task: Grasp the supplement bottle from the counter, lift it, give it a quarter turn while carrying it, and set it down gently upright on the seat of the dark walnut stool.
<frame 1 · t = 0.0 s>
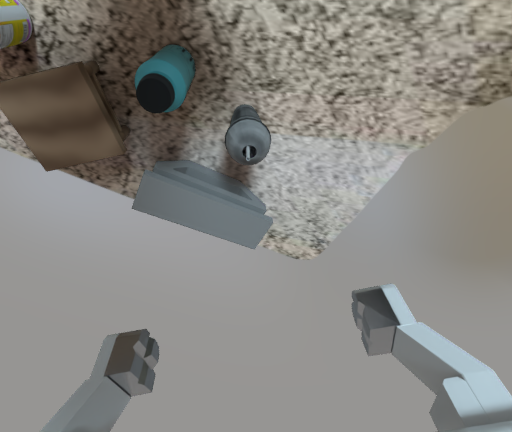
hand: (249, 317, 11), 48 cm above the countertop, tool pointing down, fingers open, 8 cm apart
supplement bottle: (10, 17, 43), on the countertop
walnut stool: (80, 107, 51), on the countertop
beverage cup: (244, 116, 55), on the countertop
beverage bottle: (178, 63, 49), on the countertop
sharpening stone: (208, 185, 63), on the countertop
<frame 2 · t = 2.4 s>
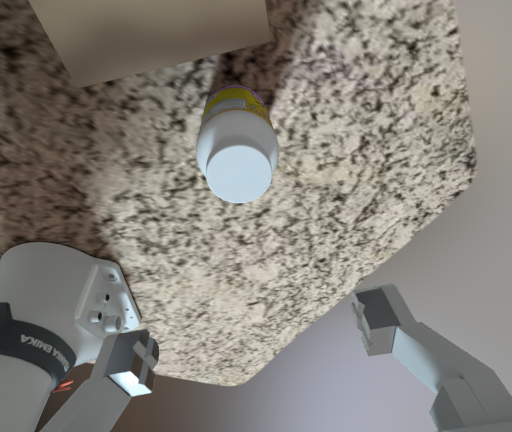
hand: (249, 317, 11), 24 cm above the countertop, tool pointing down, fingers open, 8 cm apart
supplement bottle: (235, 116, 31), on the countertop
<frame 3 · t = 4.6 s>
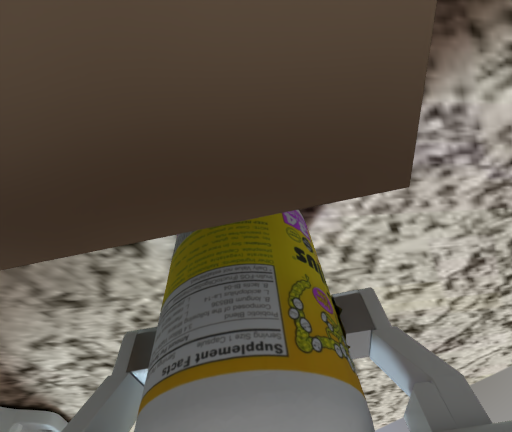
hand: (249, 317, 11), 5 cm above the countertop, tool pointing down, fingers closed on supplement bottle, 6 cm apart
supplement bottle: (243, 230, 16), on the countertop, touching gripper
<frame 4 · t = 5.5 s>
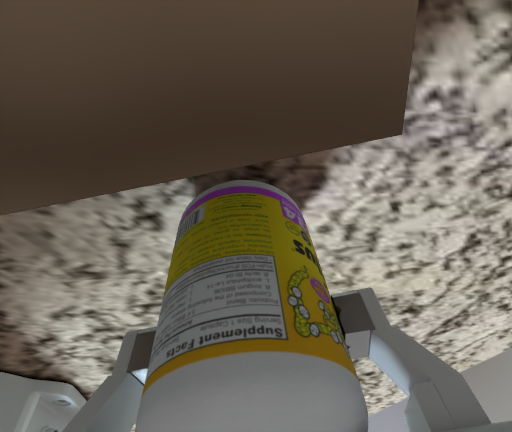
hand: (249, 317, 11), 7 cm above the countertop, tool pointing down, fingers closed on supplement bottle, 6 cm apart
supplement bottle: (242, 224, 16), point 1 cm above the countertop, touching gripper
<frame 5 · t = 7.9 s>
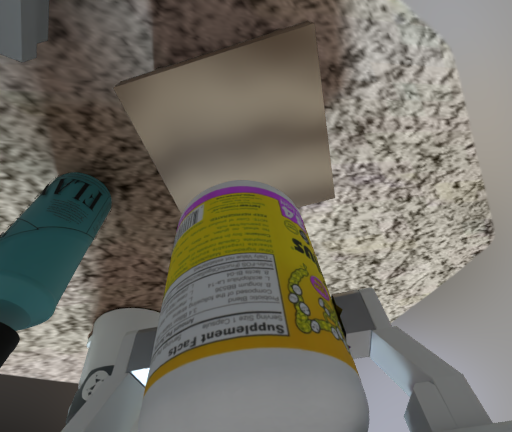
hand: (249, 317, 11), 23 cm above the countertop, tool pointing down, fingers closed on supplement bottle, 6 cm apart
supplement bottle: (240, 224, 16), point 17 cm above the countertop, touching gripper
walnut stool: (238, 117, 30), on the countertop
beverage bottle: (88, 188, 34), on the countertop
when the fingers open (15 cm above the countertop, at t = 10.5 s): supplement bottle stays where it is, resting on walnut stool.
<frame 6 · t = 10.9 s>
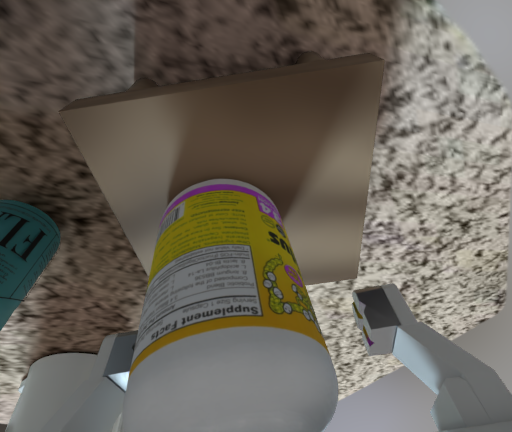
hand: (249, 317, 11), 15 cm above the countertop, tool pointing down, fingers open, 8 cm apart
supplement bottle: (221, 222, 17), point 8 cm above the countertop, touching gripper, walnut stool
walnut stool: (240, 154, 23), on the countertop
beverage bottle: (31, 217, 25), on the countertop
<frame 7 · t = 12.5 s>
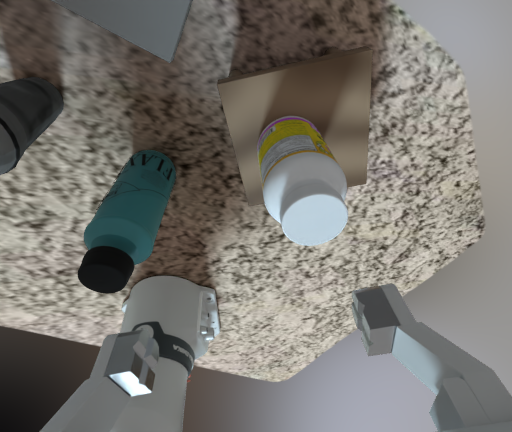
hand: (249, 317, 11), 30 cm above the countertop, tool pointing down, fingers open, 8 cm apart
supplement bottle: (288, 144, 30), point 8 cm above the countertop, touching walnut stool
walnut stool: (289, 114, 36), on the countertop
beverage cup: (43, 97, 34), on the countertop
beverage bottle: (155, 164, 40), on the countertop
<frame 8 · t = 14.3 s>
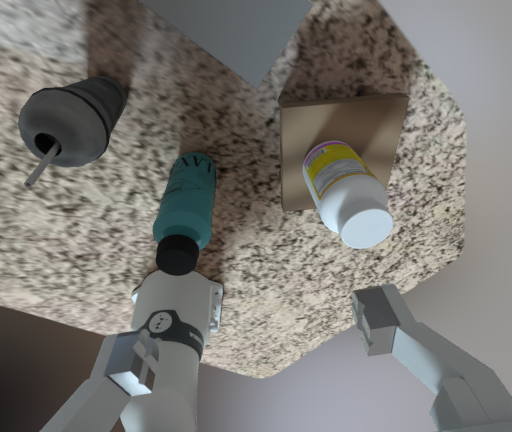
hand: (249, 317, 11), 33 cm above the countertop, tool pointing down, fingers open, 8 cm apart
supplement bottle: (327, 162, 36), point 8 cm above the countertop, touching walnut stool
walnut stool: (322, 136, 42), on the countertop
beverage cup: (108, 94, 37), on the countertop
beverage bottle: (195, 165, 44), on the countertop
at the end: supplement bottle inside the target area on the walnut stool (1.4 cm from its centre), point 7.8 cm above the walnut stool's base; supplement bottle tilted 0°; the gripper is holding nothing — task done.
